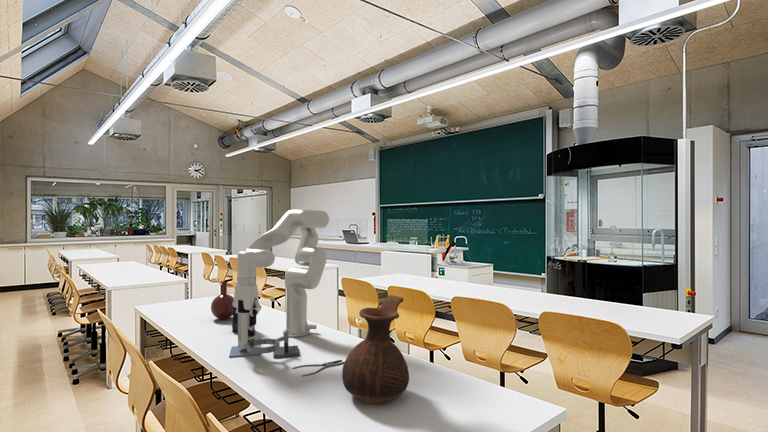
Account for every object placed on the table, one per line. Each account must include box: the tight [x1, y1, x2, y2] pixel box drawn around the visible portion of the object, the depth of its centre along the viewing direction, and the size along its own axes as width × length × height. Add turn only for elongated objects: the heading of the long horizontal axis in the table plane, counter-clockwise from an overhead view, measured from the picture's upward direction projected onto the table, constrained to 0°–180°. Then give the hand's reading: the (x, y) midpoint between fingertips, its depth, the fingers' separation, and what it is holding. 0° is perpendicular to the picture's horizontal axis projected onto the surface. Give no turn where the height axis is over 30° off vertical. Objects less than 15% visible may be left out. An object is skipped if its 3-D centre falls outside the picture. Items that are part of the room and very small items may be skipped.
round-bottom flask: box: [210, 280, 234, 320], centre depth 224 cm, size 13×13×20 cm
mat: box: [228, 345, 262, 358], centre depth 172 cm, size 12×12×1 cm
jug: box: [341, 294, 410, 405], centre depth 132 cm, size 22×22×30 cm
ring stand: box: [247, 330, 300, 359], centre depth 164 cm, size 20×20×9 cm
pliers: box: [292, 359, 345, 377], centre depth 156 cm, size 10×1×20 cm
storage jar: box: [231, 300, 238, 335], centre depth 202 cm, size 10×10×15 cm
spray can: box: [237, 300, 256, 349], centre depth 172 cm, size 7×7×20 cm
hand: (246, 323), depth 172 cm, fingers closed on spray can, 6 cm apart
